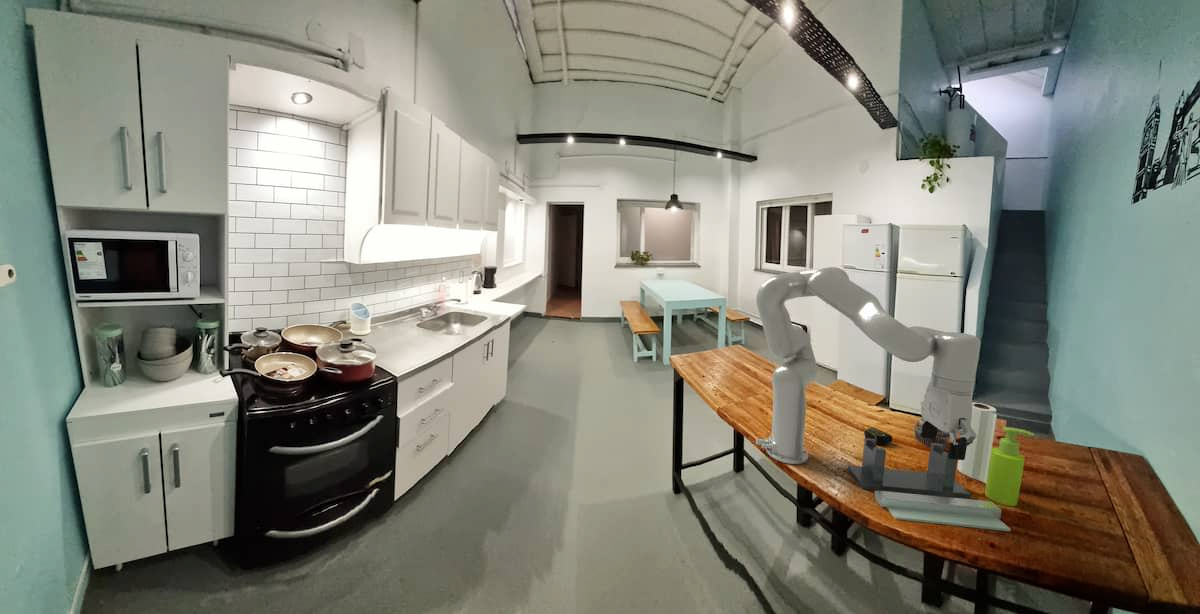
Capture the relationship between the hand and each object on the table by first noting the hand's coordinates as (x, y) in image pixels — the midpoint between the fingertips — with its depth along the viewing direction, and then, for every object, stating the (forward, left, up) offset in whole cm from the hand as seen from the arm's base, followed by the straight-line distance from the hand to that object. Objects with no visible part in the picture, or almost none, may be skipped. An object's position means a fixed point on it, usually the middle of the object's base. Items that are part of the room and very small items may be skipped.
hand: (941, 447), depth 92 cm
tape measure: (+4, +36, -18) cm, 40 cm away
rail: (0, 0, -17) cm, 17 cm away
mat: (+1, 0, -17) cm, 17 cm away
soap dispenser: (+21, +8, -18) cm, 28 cm away
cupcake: (+21, +37, -18) cm, 46 cm away
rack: (-1, +11, -17) cm, 20 cm away
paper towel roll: (+21, +19, -18) cm, 33 cm away
